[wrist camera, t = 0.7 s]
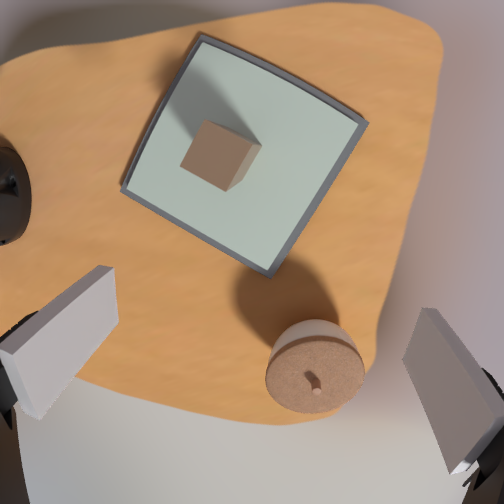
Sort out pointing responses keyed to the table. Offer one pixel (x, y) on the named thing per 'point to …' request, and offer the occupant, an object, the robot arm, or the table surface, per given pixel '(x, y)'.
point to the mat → (320, 193)
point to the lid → (239, 154)
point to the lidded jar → (314, 367)
